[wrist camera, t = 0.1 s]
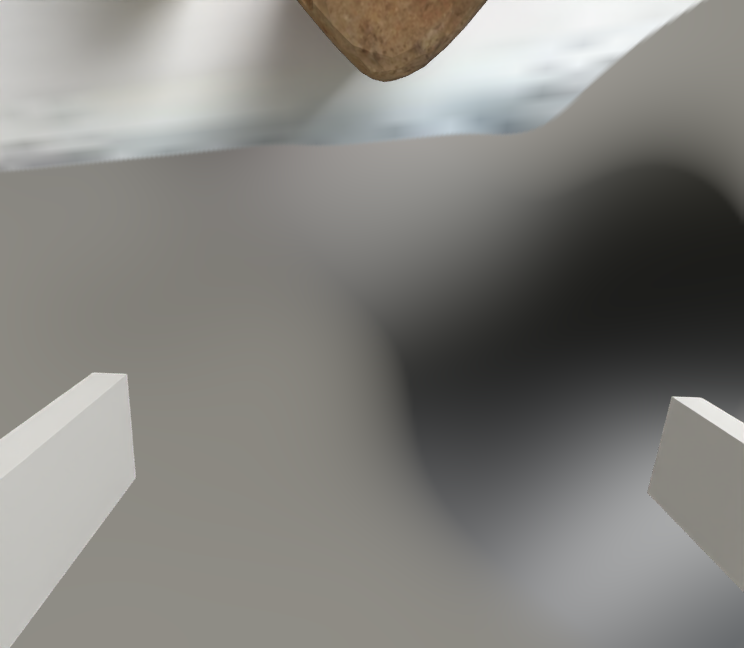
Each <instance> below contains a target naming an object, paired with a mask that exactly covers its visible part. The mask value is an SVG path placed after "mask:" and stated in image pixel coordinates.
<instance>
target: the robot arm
mask: <svg viewBox="0 0 744 648" xmlns="http://www.w3.org/2000/svg"><path fill="white" fill-rule="evenodd" d="M135 478H136V473H135V461H134V449H133V437H132V425H131V413H130V401H129V389H128V379H127V374H115V373H92V374H90V375H89V376H88V377H86V378H85V379H83V380H82V381H81V382H79V383H78V384H76V385H75V386H74V387H72V388H71V389H70V390H68V391H67V392H65V393H64V394H63V395H61V396H60V397H58V398H57V399H56V400H54V401H53V402H52V403H50V404H49V405H48V406H46V407H44V408H43V409H42V410H40V411H39V412H37V413H36V414H35V415H33V416H32V417H30V418H29V419H28V420H26V421H25V422H23V423H22V424H21V425H19V426H18V427H17V428H15V429H14V430H13V431H11V432H10V433H8V434H7V435H5V436H4V437H3V438H1V439H0V648H10V647H11V646H12V644H13V643H14V641H15V640H16V639H17V637H18V636H19V635H20V633H21V632H22V631H23V629H24V628H25V627H26V625H27V624H28V623H29V621H30V620H31V619H32V617H33V616H34V615H35V613H36V612H37V611H38V609H39V608H40V606H41V605H42V604H43V602H44V601H45V600H46V598H47V597H48V596H49V594H50V593H51V592H52V590H53V589H54V588H55V586H56V585H57V583H58V582H59V581H60V579H61V578H62V577H63V575H64V574H65V573H66V571H67V570H68V569H69V567H70V566H71V565H72V563H73V562H74V560H75V559H76V558H77V556H78V555H79V554H80V552H81V551H82V550H83V548H84V547H85V546H86V544H87V543H88V542H89V540H90V539H91V538H92V536H93V535H94V533H95V532H96V531H97V529H98V528H99V527H100V526H101V524H102V523H103V521H104V520H105V519H106V517H107V516H108V515H109V513H110V512H111V511H112V509H113V508H114V507H115V505H116V504H117V503H118V501H119V500H120V499H121V497H122V496H123V494H124V493H125V492H126V490H127V489H128V488H129V486H130V485H131V484H132V482H133V481H134V480H135ZM647 493H648V494H649V495H650V496H651V497H652V498H653V499H654V500H655V501H656V502H657V503H658V504H659V505H660V506H661V507H662V508H663V509H664V511H665V512H667V514H668V515H669V516H670V517H671V518H672V519H673V520H674V521H675V522H676V523H677V524H678V525H679V526H680V527H681V528H682V529H683V530H684V531H685V532H686V533H687V534H688V535H689V536H690V537H691V538H692V539H693V540H694V541H695V542H696V544H697V545H698V546H699V547H700V548H701V549H702V550H704V552H705V553H706V554H707V555H708V556H709V557H710V558H711V559H712V560H713V561H714V562H715V563H716V564H717V565H718V566H719V567H720V568H721V569H722V570H723V571H724V572H725V573H726V574H727V575H728V576H729V577H730V579H731V580H732V581H733V582H734V583H735V584H736V585H737V586H738V587H740V589H741V590H742V591H743V592H744V423H742V422H741V421H739V420H737V419H736V418H734V417H733V416H731V415H729V414H728V413H726V412H724V411H723V410H721V409H719V408H718V407H716V406H714V405H713V404H711V403H709V402H708V401H706V400H704V399H703V398H694V397H672V398H671V402H670V406H669V410H668V414H667V418H666V422H665V426H664V429H663V433H662V437H661V441H660V445H659V449H658V453H657V457H656V460H655V464H654V468H653V472H652V476H651V480H650V484H649V488H648V492H647Z"/></svg>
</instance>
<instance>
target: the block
mask: <svg viewBox="0 0 744 648" xmlns="http://www.w3.org/2000/svg"><path fill="white" fill-rule="evenodd" d="M297 1H298V2H299V3H300V5H301V6H302V7H303V8H304V9H305V11H306V12H307V13H308V14H309V16H310V17H311V18H312V19H313V21H314V22H315V23H316V24H317V25H318V26H319V28H320V29H321V30H322V31H323V32H324V33H325V35H326V36H327V37H328V38H329V39H330V40H331V42H332V43H333V44H334V45H335V46H336V47H337V48H338V49H339V50H340V51H341V52H342V53H343V55H344V56H345V57H346V58H347V59H348V60H349V61H350V62H351V63H352V64H353V65H354V66H355V67H356V68H357V69H358V70H359V71H360V72H362V73H363V74H365V75H367V76H369V77H370V78H372V79H375V80H379V81H383V82H387V81H393V80H397V79H400V78H403V77H406V76H408V75H410V74H412V73H414V72H415V71H417V70H419V69H421V68H423V67H424V66H426V65H427V64H428V63H429V62H430V61H431V60H432V59H433V58H435V57H436V56H437V55H438V54H439V53H440V52H441V51H443V50H444V49H445V48H446V47H447V46H448V45H449V44H450V43H451V42H452V41H453V40H454V38H455V37H456V36H457V35H458V34H459V33H460V32H461V31H462V30H463V29H464V28H465V27H466V26H467V24H468V23H469V22H470V21H471V20H472V18H473V17H474V16H475V15H476V14H477V12H478V11H479V10H480V9H481V7H482V6H483V5H484V4H485V3H486V1H487V0H297Z"/></svg>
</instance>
